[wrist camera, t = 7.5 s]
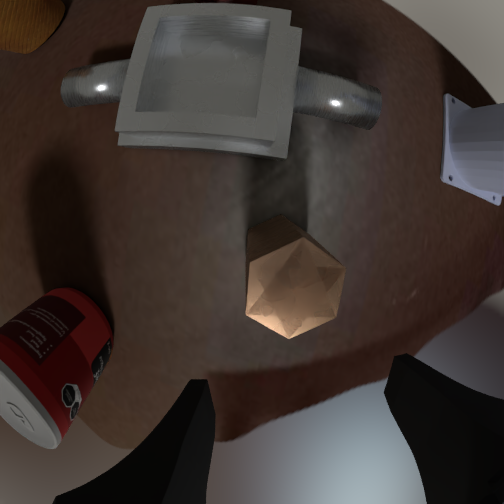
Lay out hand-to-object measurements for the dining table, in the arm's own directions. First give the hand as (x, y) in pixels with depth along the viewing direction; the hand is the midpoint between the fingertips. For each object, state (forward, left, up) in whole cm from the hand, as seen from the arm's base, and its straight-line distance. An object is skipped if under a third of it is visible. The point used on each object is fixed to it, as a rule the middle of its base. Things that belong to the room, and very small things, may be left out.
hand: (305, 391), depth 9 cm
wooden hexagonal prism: (0, -3, -10) cm, 10 cm away
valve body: (+6, -13, -10) cm, 17 cm away
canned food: (+16, +6, -10) cm, 20 cm away
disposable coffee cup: (+25, -22, -10) cm, 35 cm away
